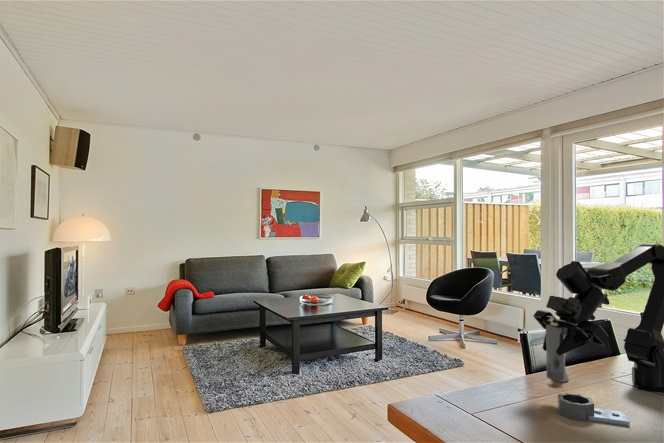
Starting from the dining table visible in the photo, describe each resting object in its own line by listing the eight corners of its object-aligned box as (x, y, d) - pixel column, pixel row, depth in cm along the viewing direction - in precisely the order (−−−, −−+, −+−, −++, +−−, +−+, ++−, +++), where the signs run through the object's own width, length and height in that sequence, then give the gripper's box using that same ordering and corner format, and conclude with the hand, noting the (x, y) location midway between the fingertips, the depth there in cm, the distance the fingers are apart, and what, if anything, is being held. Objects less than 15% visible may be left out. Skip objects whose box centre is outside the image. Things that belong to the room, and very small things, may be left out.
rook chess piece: (571, 382, 120) (570, 354, 120) (554, 381, 121) (553, 353, 121) (565, 377, 124) (565, 349, 124) (549, 376, 125) (549, 349, 125)
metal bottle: (563, 376, 108) (562, 322, 109) (565, 381, 105) (564, 325, 105) (545, 374, 110) (545, 320, 110) (547, 379, 106) (546, 323, 106)
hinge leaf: (622, 414, 99) (621, 399, 99) (630, 427, 92) (630, 411, 92) (557, 405, 104) (556, 391, 104) (560, 417, 97) (560, 402, 97)
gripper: (538, 280, 118) (506, 323, 114) (599, 289, 100) (563, 340, 96) (560, 307, 120) (529, 350, 116) (624, 320, 102) (590, 371, 99)
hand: (550, 351), depth 107 cm, fingers closed on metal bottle, 4 cm apart
